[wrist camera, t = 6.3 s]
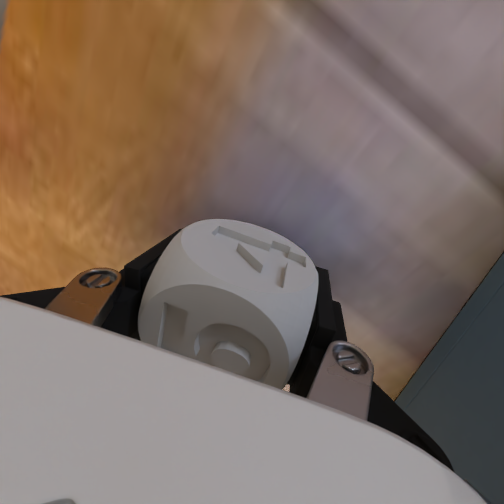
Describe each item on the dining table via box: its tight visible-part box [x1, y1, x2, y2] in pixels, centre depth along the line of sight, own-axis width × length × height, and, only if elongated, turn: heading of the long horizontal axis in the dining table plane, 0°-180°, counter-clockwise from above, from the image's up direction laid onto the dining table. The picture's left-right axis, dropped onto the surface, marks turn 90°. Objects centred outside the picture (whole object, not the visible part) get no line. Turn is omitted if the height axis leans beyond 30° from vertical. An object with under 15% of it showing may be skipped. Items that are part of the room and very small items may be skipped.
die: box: [138, 219, 319, 390], centre depth 9 cm, size 5×5×5 cm
